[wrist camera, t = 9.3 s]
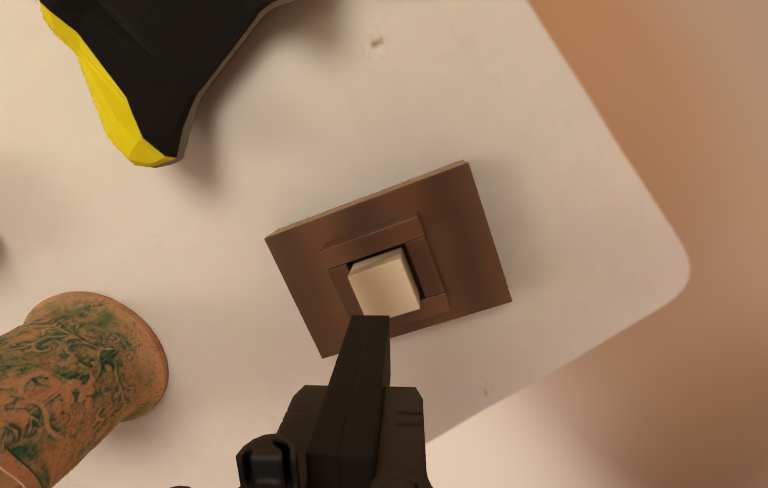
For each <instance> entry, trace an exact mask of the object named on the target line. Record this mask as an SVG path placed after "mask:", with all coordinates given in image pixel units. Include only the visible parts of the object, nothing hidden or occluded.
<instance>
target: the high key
mask: <svg viewBox="0 0 768 488" xmlns="http://www.w3.org/2000/svg"><path fill="white" fill-rule="evenodd" d="M348 279H349V281H350V284H351V286H352V288H353V291H354V293H355V295H356V298H357V300H358V302H359V304H360V307H361V309H362V311H363V314H364V315H388V316H390V318H392V317H395V316H398V315H401V314H404V313H408V312H411V311H414V310H417V309H420V296H419V290H418V288H417V285H416V283H415V280H414V277H413V275H412V272H411V270H410V267H409V264H408V262H407V259H406V257H405V254H404V251H403V249H402V248H398V249H395V250H392V251H389V252H386V253H383V254H381V255H378V256H375V257H372V258H369V259H366V260H363V261H360V262H357V263H354V264H353V266H352V268H351V271H350V273H349V275H348Z"/></svg>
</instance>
